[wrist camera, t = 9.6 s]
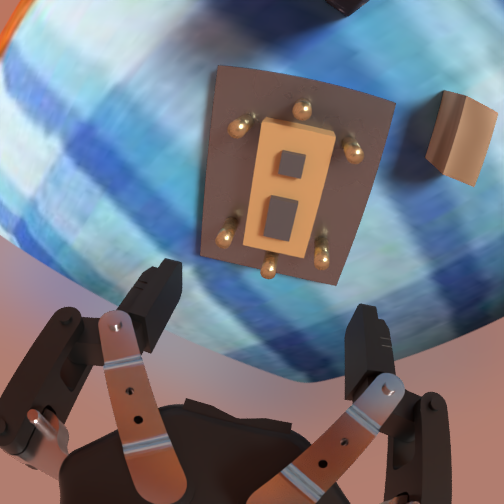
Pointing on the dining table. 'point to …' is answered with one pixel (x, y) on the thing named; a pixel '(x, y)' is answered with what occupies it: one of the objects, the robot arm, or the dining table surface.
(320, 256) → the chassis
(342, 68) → the dining table surface
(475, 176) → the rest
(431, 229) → the dining table surface
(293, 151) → the board
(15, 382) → the robot arm
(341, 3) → the small box
